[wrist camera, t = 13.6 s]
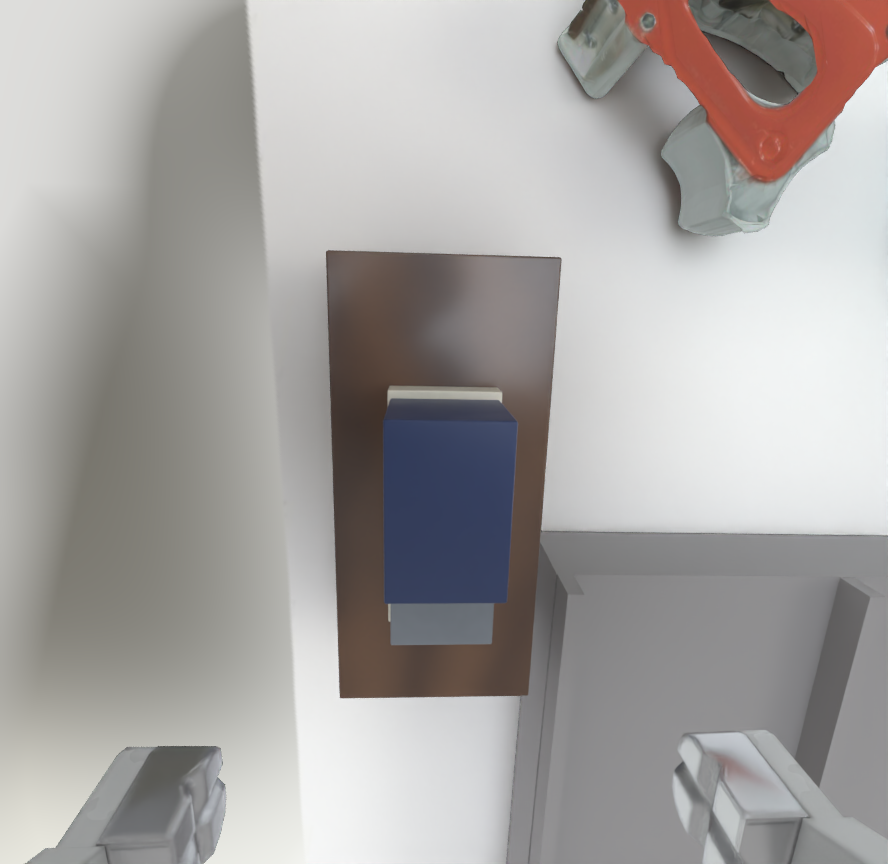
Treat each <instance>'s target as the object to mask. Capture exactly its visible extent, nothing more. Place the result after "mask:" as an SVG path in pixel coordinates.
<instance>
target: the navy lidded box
mask: <svg viewBox="0 0 888 864" xmlns="http://www.w3.org/2000/svg"><path fill="white" fill-rule="evenodd" d="M517 431H518V422H517V421H516V419H515V418H514V417H513V416H512V415H511V414H510V412H509V411H508V410H507V409H506V408H505V407H504V405H503V404H502V392H501V391H500V390H499V389H498V388H497V387H444V386H389V389H388V408H387V411H386V414H385V417H384V420H383V515H384V603H385V604H388V621H389V622H390V632H391V645H459V644H492V633H493V614H494V603H506V602H507V596H508V579H509V563H510V547H511V530H512V514H513V497H514V481H515V464H516V448H517Z"/></svg>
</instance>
